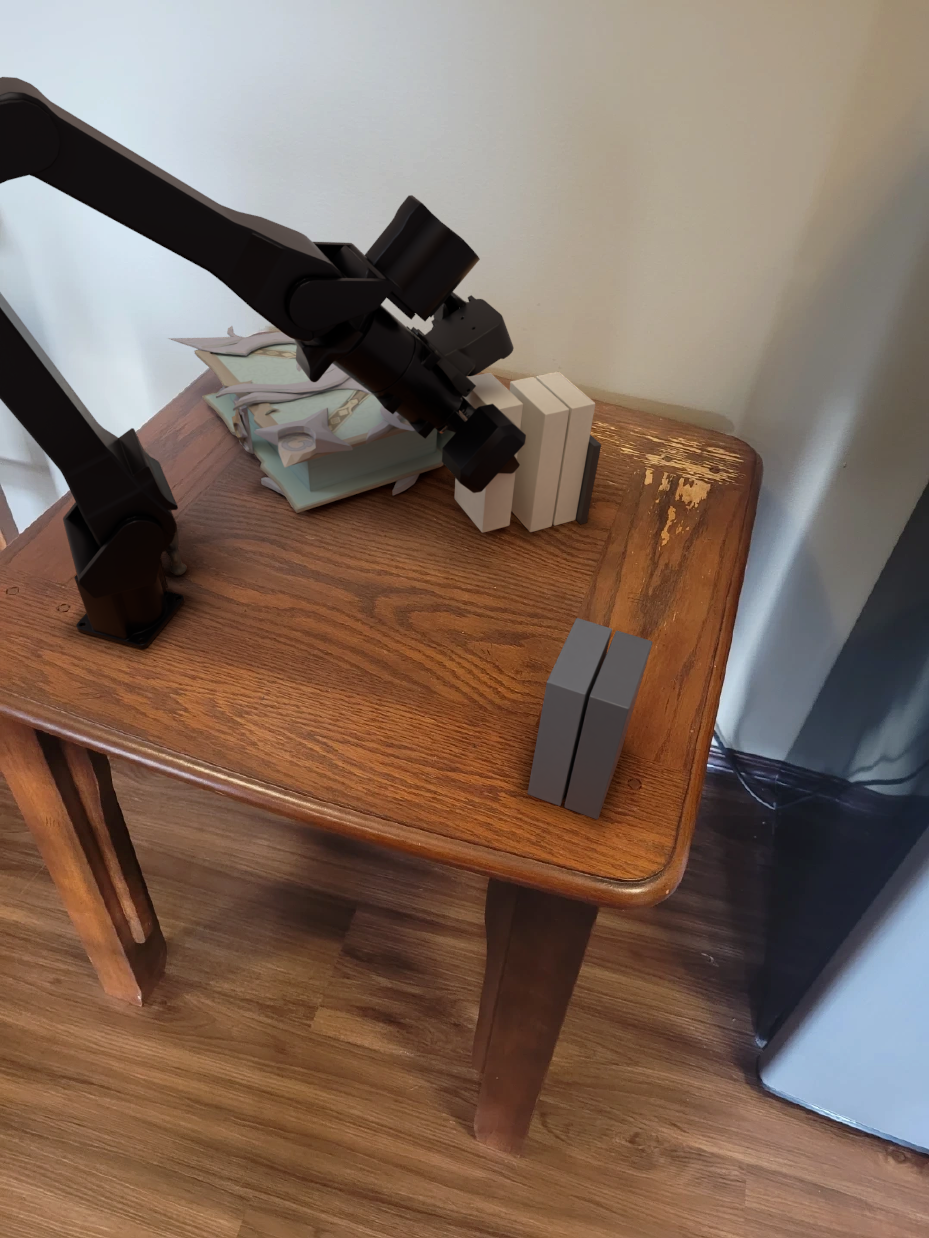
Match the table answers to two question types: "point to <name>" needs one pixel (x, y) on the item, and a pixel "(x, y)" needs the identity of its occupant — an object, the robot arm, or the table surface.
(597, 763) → the grey books
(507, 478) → the white book
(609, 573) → the table surface
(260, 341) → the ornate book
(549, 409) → the white books
